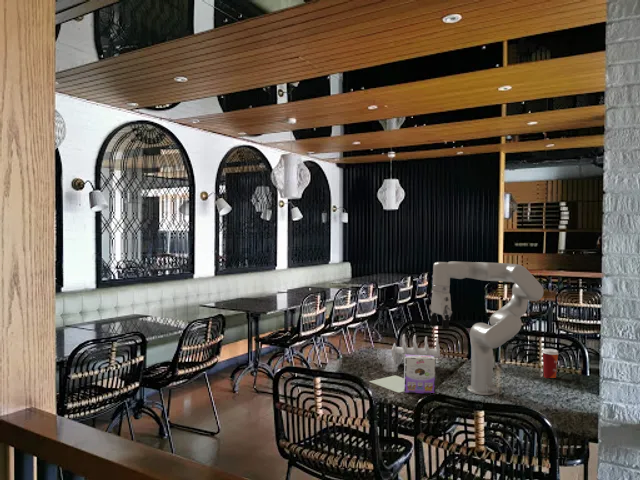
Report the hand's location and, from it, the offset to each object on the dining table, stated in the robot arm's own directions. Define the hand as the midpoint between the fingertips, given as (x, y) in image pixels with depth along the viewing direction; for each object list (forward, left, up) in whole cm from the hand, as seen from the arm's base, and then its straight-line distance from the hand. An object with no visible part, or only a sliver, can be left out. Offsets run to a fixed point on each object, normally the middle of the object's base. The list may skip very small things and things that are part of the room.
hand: (439, 326), depth 223 cm
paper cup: (-17, -67, -31) cm, 76 cm away
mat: (+20, +6, -31) cm, 37 cm away
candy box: (+7, +6, -31) cm, 32 cm away
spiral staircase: (+35, -24, -31) cm, 53 cm away
